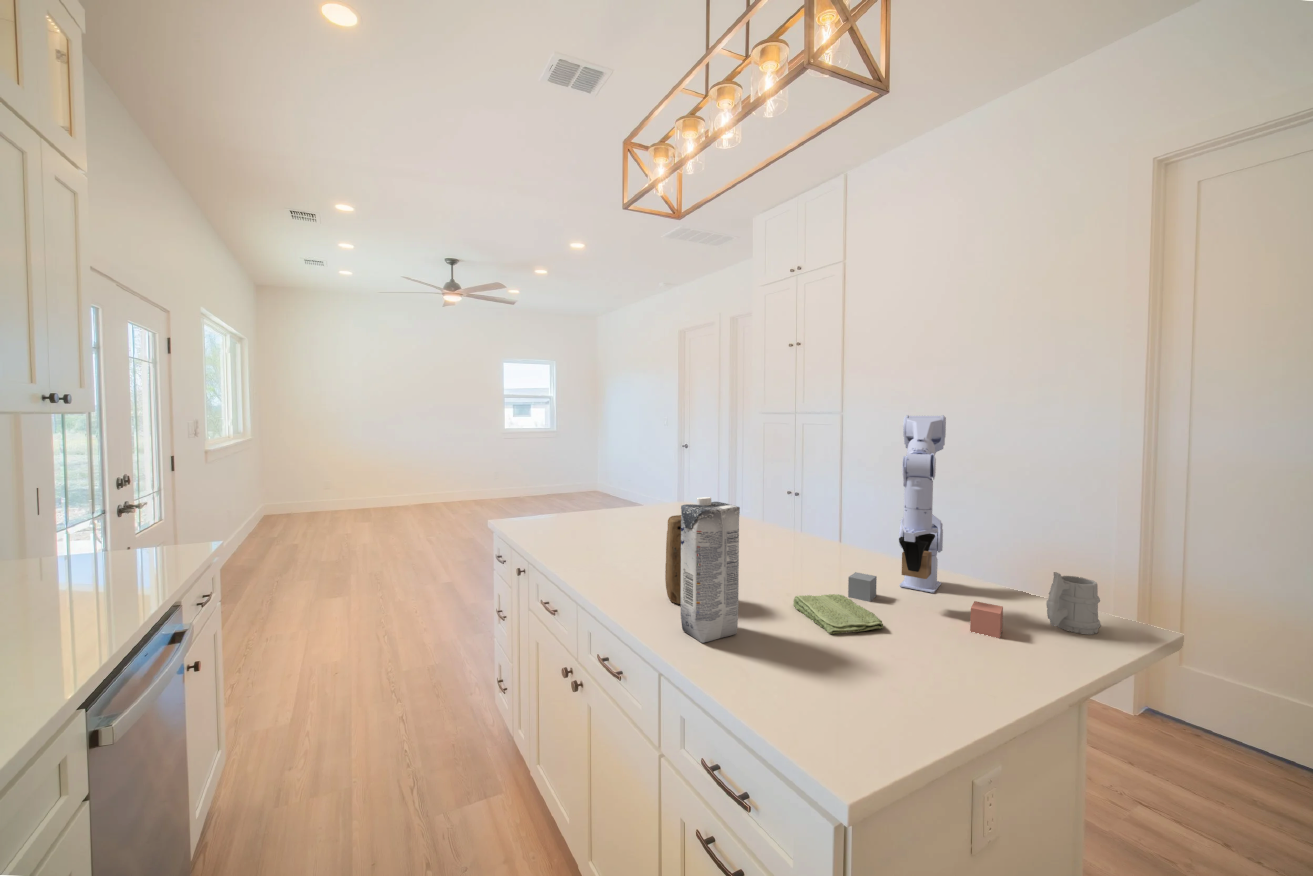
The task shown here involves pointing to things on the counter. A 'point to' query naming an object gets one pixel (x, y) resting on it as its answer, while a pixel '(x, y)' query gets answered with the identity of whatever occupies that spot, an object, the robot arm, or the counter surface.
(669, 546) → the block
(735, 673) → the counter surface
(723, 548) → the juice carton
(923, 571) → the walnut block
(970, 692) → the counter surface
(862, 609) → the washcloth
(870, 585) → the slate grey block
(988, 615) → the brick red block
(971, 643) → the counter surface
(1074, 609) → the mug
